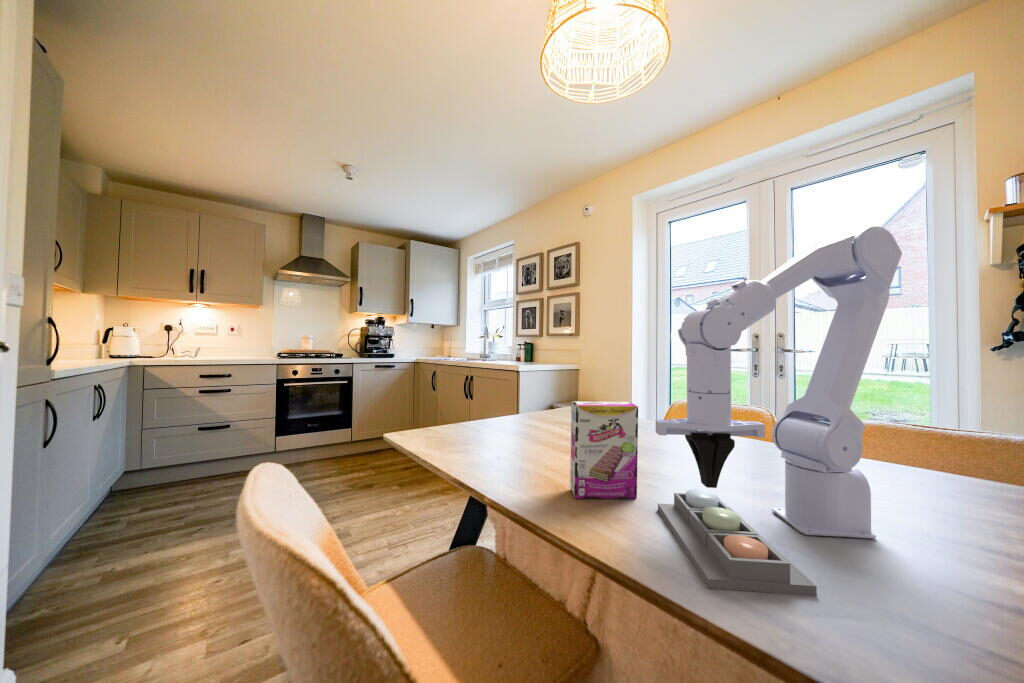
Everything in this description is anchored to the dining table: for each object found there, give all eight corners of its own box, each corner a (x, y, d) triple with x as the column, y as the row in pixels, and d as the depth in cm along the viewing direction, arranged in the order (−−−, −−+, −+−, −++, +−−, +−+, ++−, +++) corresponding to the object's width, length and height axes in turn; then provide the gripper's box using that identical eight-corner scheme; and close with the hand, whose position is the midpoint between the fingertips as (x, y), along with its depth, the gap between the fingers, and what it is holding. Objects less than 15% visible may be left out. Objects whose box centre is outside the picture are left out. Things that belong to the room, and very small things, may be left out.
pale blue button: (711, 502, 59) (711, 490, 59) (723, 515, 55) (723, 501, 55) (681, 501, 60) (681, 488, 60) (692, 513, 55) (692, 500, 55)
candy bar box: (575, 500, 65) (575, 404, 65) (569, 489, 70) (569, 400, 70) (639, 499, 65) (639, 404, 66) (629, 488, 70) (629, 400, 71)
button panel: (729, 513, 60) (729, 494, 60) (816, 595, 40) (816, 567, 40) (658, 509, 61) (657, 491, 61) (708, 588, 41) (708, 560, 42)
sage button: (730, 522, 53) (730, 507, 53) (746, 538, 48) (746, 522, 48) (697, 520, 53) (697, 506, 53) (710, 536, 49) (710, 520, 49)
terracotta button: (755, 552, 46) (755, 536, 46) (776, 573, 42) (776, 555, 42) (717, 550, 47) (717, 533, 47) (734, 571, 42) (734, 553, 42)
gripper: (746, 389, 58) (746, 477, 58) (649, 388, 60) (650, 474, 60) (773, 395, 51) (774, 495, 51) (663, 393, 53) (663, 491, 53)
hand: (708, 485), depth 55 cm, fingers closed
